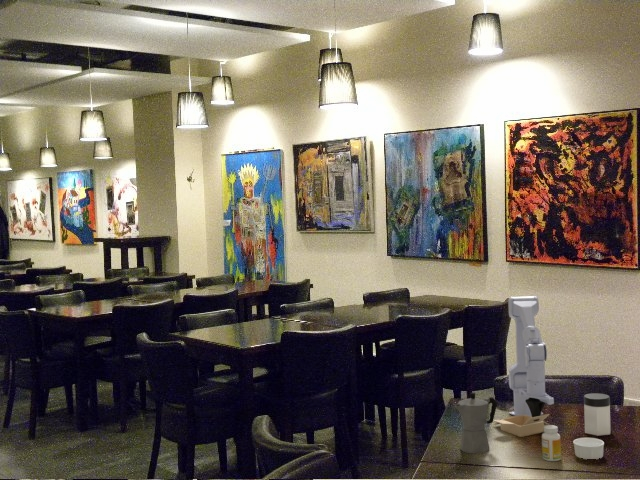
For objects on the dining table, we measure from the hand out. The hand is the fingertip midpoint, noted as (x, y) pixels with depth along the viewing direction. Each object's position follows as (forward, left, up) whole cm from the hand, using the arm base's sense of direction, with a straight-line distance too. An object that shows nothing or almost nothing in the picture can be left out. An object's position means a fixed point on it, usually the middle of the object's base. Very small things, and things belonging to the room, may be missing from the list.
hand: (536, 420), depth 264 cm
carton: (0, -7, -5) cm, 9 cm away
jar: (-19, +8, -5) cm, 21 cm away
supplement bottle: (+12, +20, -5) cm, 24 cm away
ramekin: (+1, +24, -6) cm, 24 cm away
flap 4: (-5, -7, -1) cm, 9 cm away
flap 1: (+5, -7, -1) cm, 9 cm away
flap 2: (0, -12, -1) cm, 12 cm away
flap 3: (0, -2, -1) cm, 3 cm away
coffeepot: (+24, 0, -5) cm, 25 cm away
